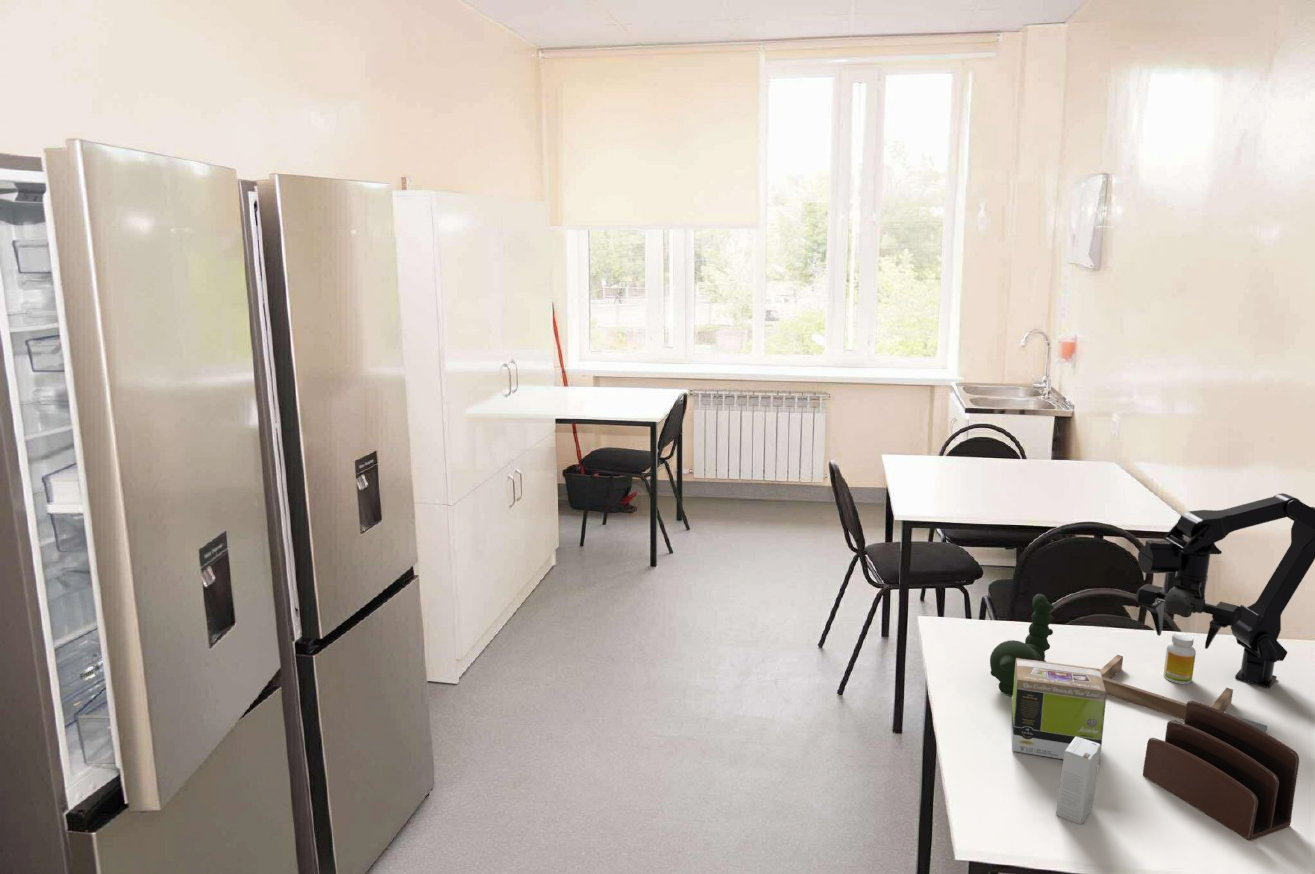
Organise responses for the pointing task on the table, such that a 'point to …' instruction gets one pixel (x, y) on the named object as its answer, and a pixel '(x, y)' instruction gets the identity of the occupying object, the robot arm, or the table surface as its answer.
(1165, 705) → the walnut stall
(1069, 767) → the skincare box
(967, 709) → the table surface
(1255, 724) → the slate mat
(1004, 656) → the toy figurine
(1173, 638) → the supplement bottle
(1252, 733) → the letter holder
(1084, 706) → the tea box
